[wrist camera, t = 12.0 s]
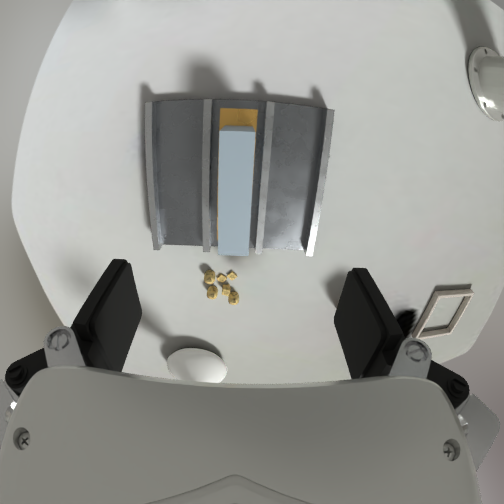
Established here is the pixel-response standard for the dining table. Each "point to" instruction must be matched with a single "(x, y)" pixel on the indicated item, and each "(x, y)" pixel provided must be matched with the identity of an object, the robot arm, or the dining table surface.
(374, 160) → the dining table surface
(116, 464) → the robot arm
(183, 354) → the flower in vase
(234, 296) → the dice set
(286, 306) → the dining table surface
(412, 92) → the dining table surface
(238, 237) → the blue-grey rectangular block
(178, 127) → the rack
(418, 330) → the beige square frame
